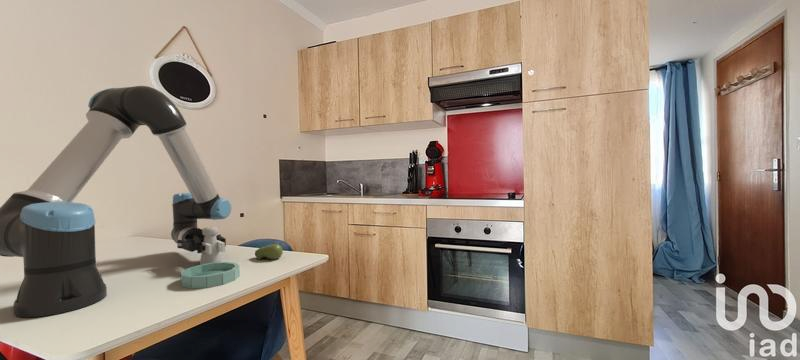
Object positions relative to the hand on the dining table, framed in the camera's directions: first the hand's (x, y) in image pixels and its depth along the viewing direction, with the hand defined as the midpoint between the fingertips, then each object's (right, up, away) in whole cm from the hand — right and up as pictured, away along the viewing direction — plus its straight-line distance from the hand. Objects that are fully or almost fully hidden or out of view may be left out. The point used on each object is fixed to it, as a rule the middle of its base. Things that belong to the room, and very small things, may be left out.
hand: (217, 248), depth 100 cm
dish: (+3, -7, -7) cm, 11 cm away
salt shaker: (-4, -7, +4) cm, 9 cm away
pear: (+10, -7, +14) cm, 19 cm away
